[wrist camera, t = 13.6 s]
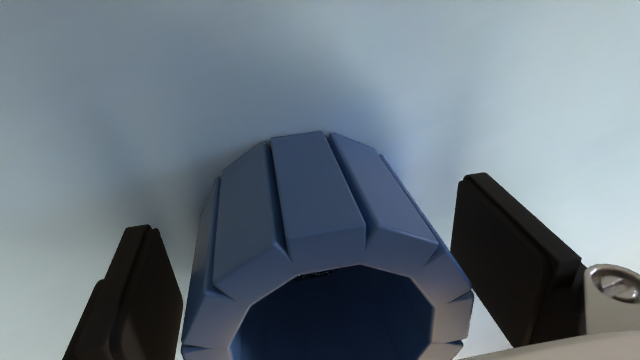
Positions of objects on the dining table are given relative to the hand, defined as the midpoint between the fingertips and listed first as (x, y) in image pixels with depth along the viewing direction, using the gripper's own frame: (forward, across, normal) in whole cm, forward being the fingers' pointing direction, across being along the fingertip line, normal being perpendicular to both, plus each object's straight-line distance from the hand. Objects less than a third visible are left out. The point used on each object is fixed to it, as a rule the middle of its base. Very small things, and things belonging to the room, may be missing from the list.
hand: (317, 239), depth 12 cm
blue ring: (+1, 0, 0) cm, 1 cm away
